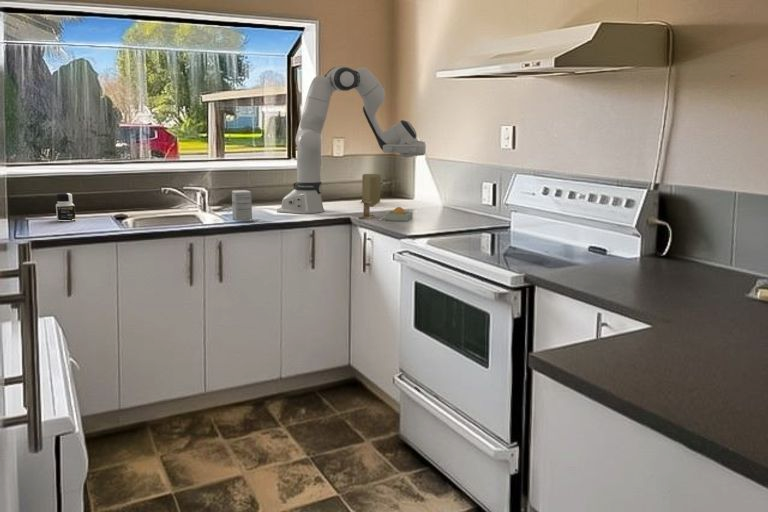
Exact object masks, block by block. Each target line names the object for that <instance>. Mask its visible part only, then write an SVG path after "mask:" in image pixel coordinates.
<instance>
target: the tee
mask: <svg viewBox="0 0 768 512" xmlns="http://www.w3.org/2000/svg"><path fill="white" fill-rule="evenodd" d="M371 202H372V199H369V200H367V201H366V199H363V200H362V199H361V202H360V203H361V204H363V207H362V208H363V209H362V210H363V214H362V215H359V216H358V220H359V219H360V220H362V219H364V220H373V219H374V218H375V217H376V216H375V215H372V214H371V212H370V211H371V210H370V209H371V208H370V203H371ZM373 217H374V218H373Z"/></svg>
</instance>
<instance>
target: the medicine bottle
mask: <svg viewBox="0 0 768 512" xmlns="http://www.w3.org/2000/svg"><path fill="white" fill-rule="evenodd" d="M56 201H57V203H56V204H55V212H56V213H55V214H56V220H57V219H58V220H72V219H76V220H77V217H76V206H75V204H74V203H73V194H72V193H70V192H60V193H57V194H56Z"/></svg>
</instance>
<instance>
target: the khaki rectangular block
mask: <svg viewBox="0 0 768 512" xmlns="http://www.w3.org/2000/svg"><path fill="white" fill-rule="evenodd" d="M361 177H362V180H361V181H362V182H361V183H362V184H361V185H362V188H361V189H362V190H361V191H362V192H361V195H362V197H361V201H362V200H363V199H366V201H367V200H369V199H372V202H371V203H370V207H371V208H373V207H374V206H375V205H376V204H377V203H379V202H381V190H382V189H381V188H382V187H381V186H382V180H381V179H382V178H381V177H382V176H381V174H379V173H363V174H362V176H361Z"/></svg>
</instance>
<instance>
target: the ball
mask: <svg viewBox="0 0 768 512" xmlns="http://www.w3.org/2000/svg"><path fill="white" fill-rule="evenodd" d="M393 211H394V212H393V214H405V212H404V211H405V210H404V208H403V207H400V206H397V207H395V208H394V209H393Z"/></svg>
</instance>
